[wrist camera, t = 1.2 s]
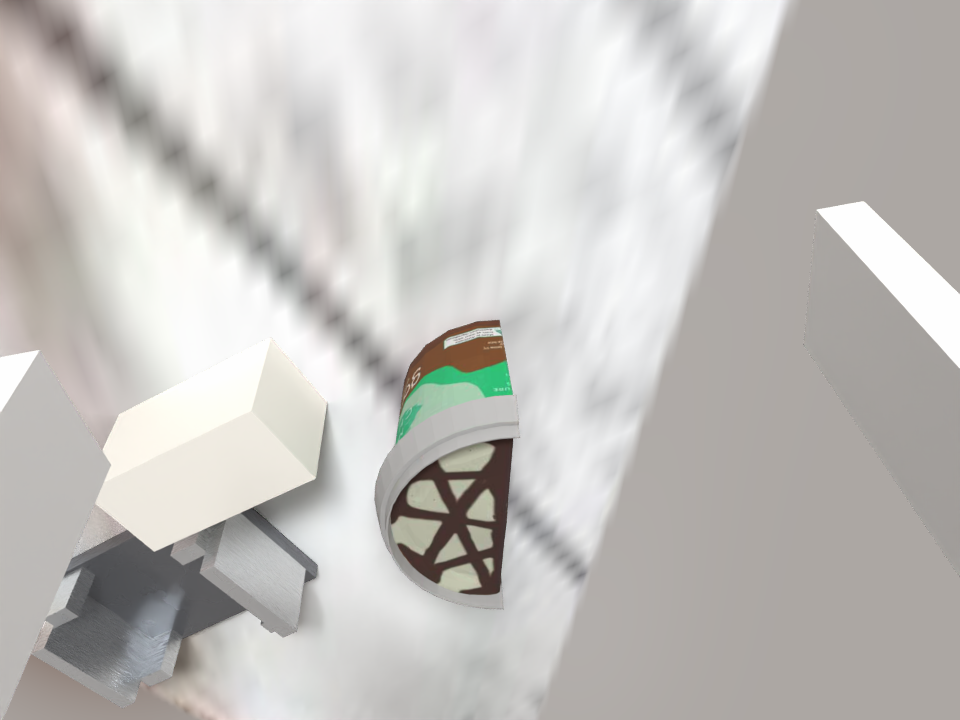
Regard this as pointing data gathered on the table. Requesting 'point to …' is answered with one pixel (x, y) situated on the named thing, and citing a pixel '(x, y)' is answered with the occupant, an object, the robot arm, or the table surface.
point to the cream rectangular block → (213, 446)
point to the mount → (167, 600)
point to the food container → (452, 467)
